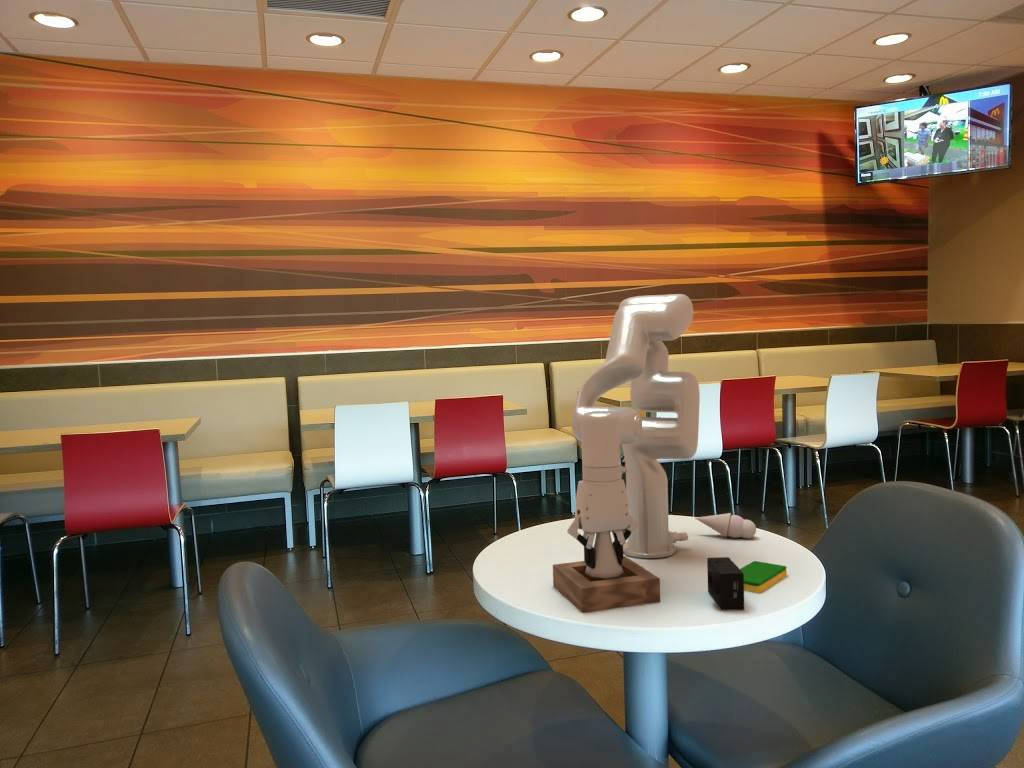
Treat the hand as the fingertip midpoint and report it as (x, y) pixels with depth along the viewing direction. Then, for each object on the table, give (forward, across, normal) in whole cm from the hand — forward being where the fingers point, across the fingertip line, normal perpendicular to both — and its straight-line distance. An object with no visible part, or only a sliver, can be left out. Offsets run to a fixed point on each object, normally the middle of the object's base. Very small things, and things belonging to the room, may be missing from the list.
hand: (603, 564), depth 151 cm
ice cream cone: (+6, -44, -27) cm, 52 cm away
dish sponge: (+7, -32, +4) cm, 33 cm away
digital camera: (+6, -19, +12) cm, 23 cm away
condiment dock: (+6, 0, 0) cm, 6 cm away
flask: (+2, 0, 0) cm, 2 cm away
